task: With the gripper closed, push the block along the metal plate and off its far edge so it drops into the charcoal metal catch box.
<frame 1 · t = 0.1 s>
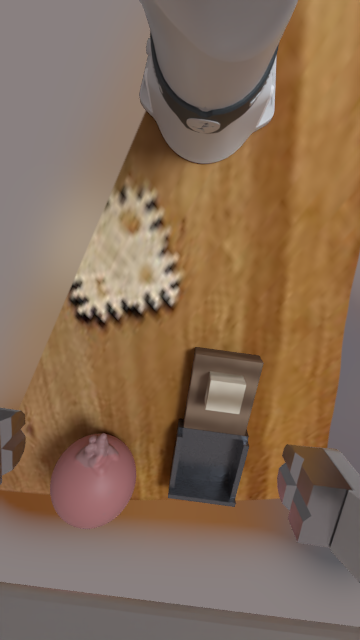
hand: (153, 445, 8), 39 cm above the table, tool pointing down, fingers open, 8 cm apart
balloon: (110, 437, 57), on the table
catch box: (206, 453, 57), on the table
block: (223, 387, 48), point 3 cm above the table, touching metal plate
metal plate: (219, 388, 52), on the table
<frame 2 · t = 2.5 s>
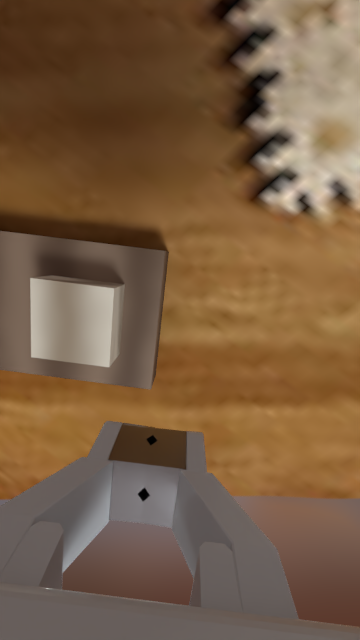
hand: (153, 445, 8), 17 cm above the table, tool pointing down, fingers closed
block: (86, 315, 22), point 3 cm above the table, touching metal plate
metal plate: (78, 306, 25), on the table
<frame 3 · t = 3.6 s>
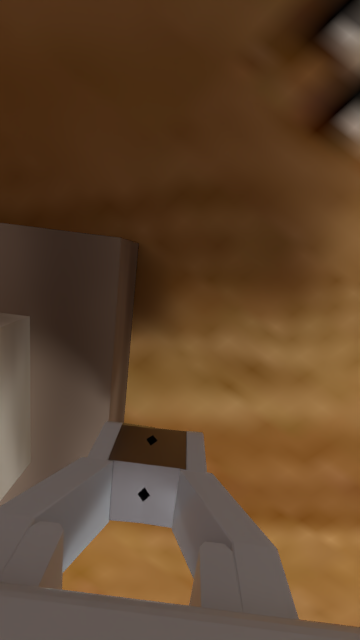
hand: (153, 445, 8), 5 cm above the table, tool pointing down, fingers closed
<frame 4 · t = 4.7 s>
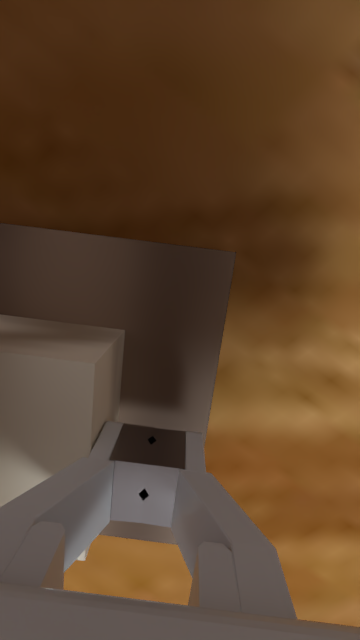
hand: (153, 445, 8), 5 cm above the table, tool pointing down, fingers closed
block: (38, 398, 10), point 3 cm above the table, touching gripper
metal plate: (38, 361, 13), on the table
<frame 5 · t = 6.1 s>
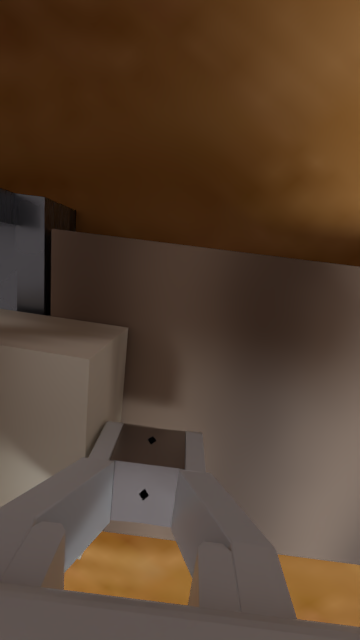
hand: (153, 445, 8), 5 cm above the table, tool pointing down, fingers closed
block: (43, 393, 10), point 3 cm above the table, touching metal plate, gripper
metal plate: (246, 386, 13), on the table
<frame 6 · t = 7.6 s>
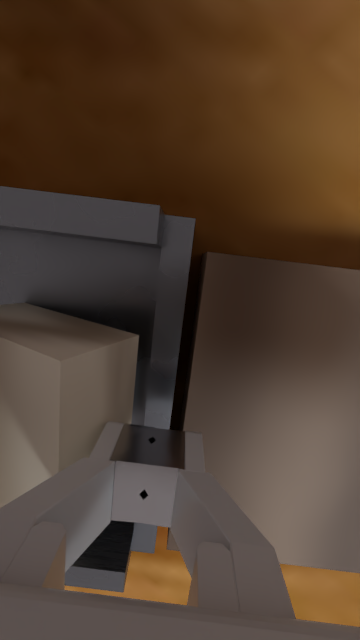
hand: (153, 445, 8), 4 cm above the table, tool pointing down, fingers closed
catch box: (7, 361, 13), on the table
block: (72, 389, 11), point 2 cm above the table, tilted 26°, touching catch box, gripper
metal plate: (353, 404, 13), on the table
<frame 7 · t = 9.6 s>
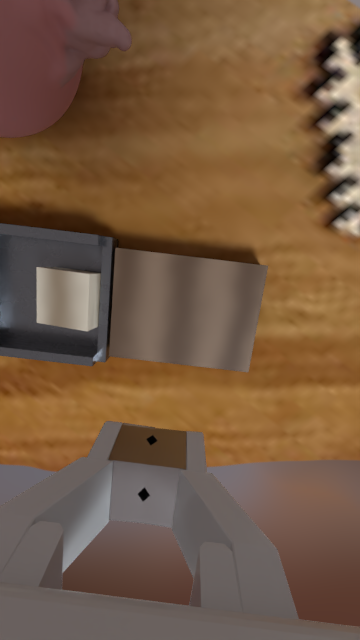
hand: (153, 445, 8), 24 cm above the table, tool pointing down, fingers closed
balloon: (54, 89, 27), on the table
catch box: (48, 291, 32), on the table
block: (78, 296, 31), point 1 cm above the table, tilted 10°, touching catch box
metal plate: (185, 308, 32), on the table
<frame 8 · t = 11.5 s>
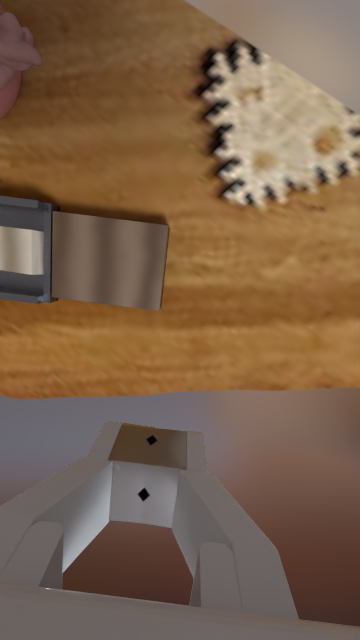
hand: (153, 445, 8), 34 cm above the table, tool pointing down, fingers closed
balloon: (7, 91, 36), on the table
catch box: (7, 249, 41), on the table
block: (29, 251, 40), point 1 cm above the table, tilted 10°, touching catch box
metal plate: (113, 262, 41), on the table
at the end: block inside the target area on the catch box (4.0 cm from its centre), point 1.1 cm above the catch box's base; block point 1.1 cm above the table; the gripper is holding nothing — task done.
